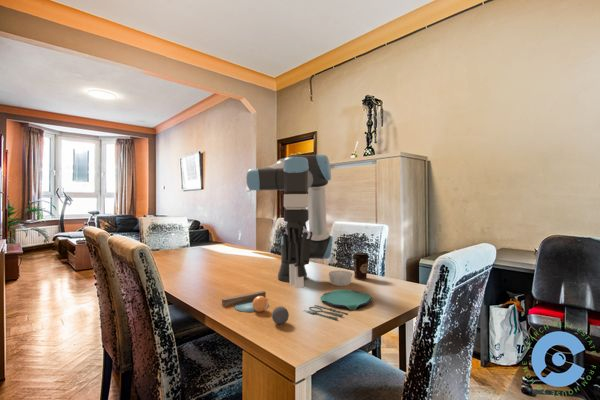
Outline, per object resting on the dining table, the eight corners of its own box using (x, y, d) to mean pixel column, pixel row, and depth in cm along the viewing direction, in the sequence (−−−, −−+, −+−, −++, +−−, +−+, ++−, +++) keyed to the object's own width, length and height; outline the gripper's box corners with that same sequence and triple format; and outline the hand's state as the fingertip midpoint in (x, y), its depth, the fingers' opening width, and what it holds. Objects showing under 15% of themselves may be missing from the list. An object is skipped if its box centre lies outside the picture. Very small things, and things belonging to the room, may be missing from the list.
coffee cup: (371, 277, 160) (371, 252, 160) (366, 281, 153) (366, 255, 153) (356, 275, 165) (355, 251, 165) (349, 279, 158) (349, 253, 158)
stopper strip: (265, 297, 128) (265, 291, 128) (224, 306, 117) (224, 300, 117) (263, 296, 129) (263, 290, 129) (222, 305, 119) (222, 298, 119)
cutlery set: (380, 300, 125) (380, 294, 125) (340, 324, 102) (340, 317, 102) (338, 291, 137) (338, 286, 137) (295, 311, 114) (294, 305, 114)
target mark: (266, 299, 126) (266, 298, 126) (271, 310, 113) (271, 309, 113) (233, 302, 122) (233, 301, 122) (235, 313, 110) (235, 313, 110)
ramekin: (324, 282, 152) (324, 271, 152) (344, 279, 157) (344, 269, 157) (336, 288, 142) (336, 276, 142) (356, 285, 147) (356, 274, 147)
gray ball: (286, 319, 104) (286, 303, 104) (290, 326, 99) (290, 308, 99) (270, 321, 103) (270, 305, 103) (273, 327, 97) (273, 310, 97)
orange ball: (266, 307, 116) (266, 293, 116) (268, 313, 110) (268, 297, 110) (251, 309, 114) (251, 294, 114) (253, 314, 109) (253, 299, 109)
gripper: (321, 208, 89) (322, 289, 89) (292, 207, 102) (292, 279, 102) (300, 209, 85) (301, 294, 85) (272, 208, 97) (273, 282, 97)
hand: (296, 286), depth 93 cm, fingers open, 2 cm apart
